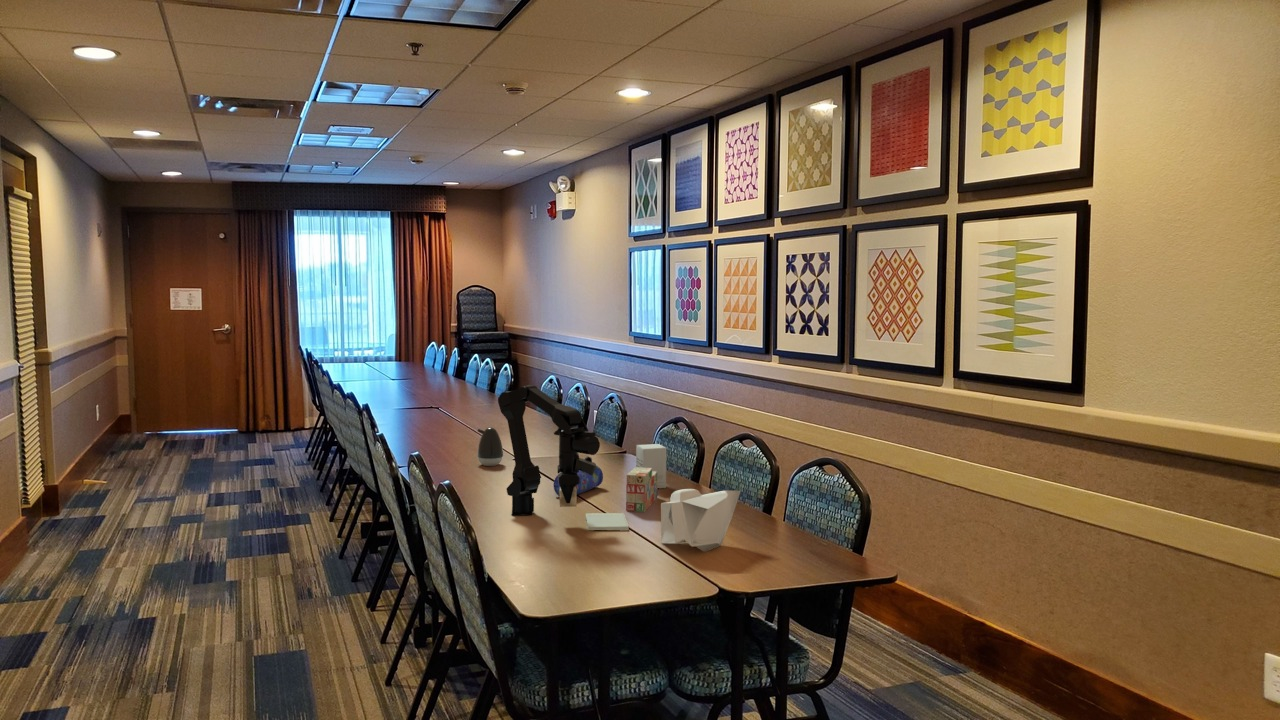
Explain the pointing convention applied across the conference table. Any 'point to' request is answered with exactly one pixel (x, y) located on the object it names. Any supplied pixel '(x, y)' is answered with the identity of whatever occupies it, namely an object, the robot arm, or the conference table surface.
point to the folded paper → (697, 517)
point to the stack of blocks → (640, 489)
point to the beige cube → (573, 499)
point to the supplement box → (653, 460)
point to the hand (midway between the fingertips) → (567, 501)
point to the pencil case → (583, 481)
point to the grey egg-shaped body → (490, 447)
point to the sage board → (606, 521)
